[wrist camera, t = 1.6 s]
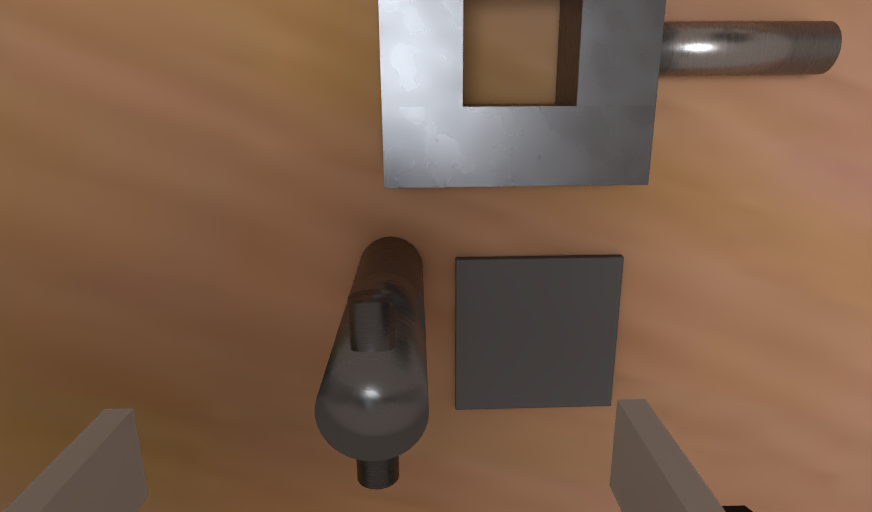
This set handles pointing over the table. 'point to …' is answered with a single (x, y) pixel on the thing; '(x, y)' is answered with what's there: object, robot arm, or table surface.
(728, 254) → the table surface
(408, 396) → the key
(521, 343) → the mat
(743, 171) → the table surface
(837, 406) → the table surface
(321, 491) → the table surface
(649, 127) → the block
